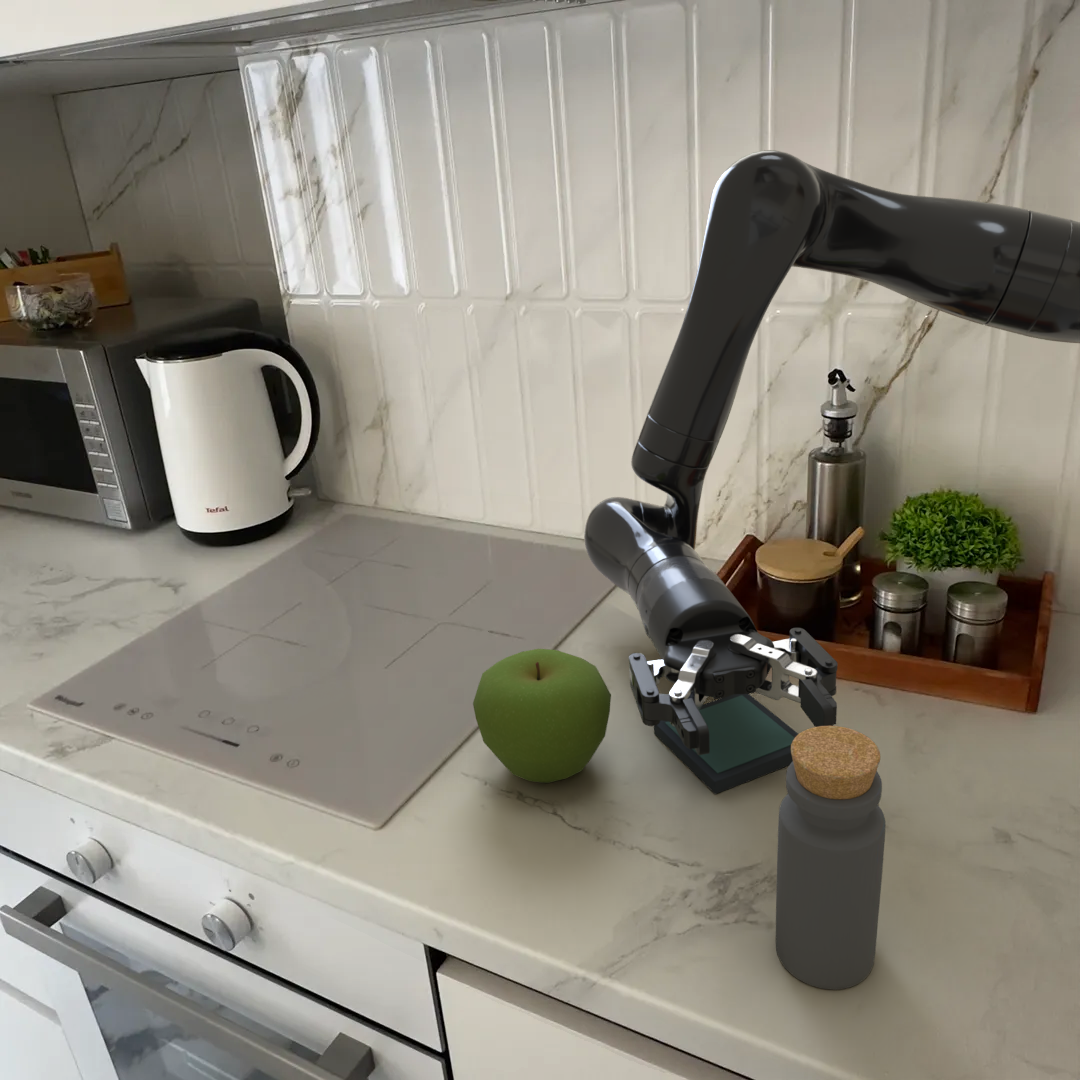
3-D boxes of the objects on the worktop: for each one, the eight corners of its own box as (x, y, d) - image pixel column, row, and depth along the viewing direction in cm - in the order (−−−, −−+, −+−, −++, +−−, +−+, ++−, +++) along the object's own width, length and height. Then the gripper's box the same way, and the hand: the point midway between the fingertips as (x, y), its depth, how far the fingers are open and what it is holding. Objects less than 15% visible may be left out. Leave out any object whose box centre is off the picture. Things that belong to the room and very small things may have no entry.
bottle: (792, 902, 63) (798, 709, 57) (885, 934, 60) (902, 734, 54) (761, 968, 59) (765, 765, 53) (860, 1005, 56) (876, 796, 50)
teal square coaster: (744, 701, 84) (744, 688, 84) (811, 756, 77) (812, 743, 76) (653, 733, 81) (653, 720, 81) (715, 794, 73) (714, 780, 73)
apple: (641, 774, 76) (636, 665, 72) (529, 831, 71) (516, 718, 67) (563, 712, 85) (555, 612, 81) (458, 760, 80) (443, 655, 76)
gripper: (603, 590, 77) (661, 702, 62) (777, 563, 78) (872, 667, 64) (608, 671, 80) (664, 797, 65) (775, 644, 81) (866, 761, 67)
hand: (767, 733), depth 64 cm, fingers open, 8 cm apart
